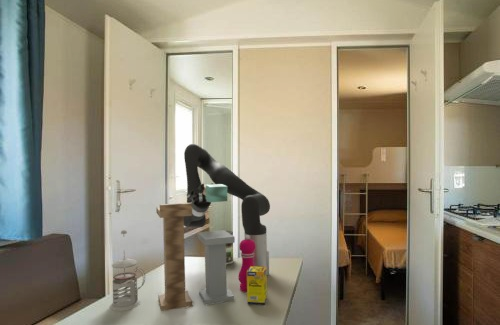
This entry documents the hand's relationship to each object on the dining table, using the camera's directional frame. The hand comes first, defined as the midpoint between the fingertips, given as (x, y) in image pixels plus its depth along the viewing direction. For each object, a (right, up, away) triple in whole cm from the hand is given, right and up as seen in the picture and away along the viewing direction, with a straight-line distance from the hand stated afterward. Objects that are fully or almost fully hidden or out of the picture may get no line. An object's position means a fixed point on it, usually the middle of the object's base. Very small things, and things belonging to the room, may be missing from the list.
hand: (208, 185), depth 130 cm
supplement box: (+18, -38, -13) cm, 44 cm away
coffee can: (+3, -39, +36) cm, 53 cm away
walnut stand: (-10, -39, -12) cm, 42 cm away
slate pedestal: (+4, -38, -8) cm, 39 cm away
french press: (-26, -39, -12) cm, 48 cm away
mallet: (+2, -4, -4) cm, 6 cm away
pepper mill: (+15, -38, -1) cm, 41 cm away
